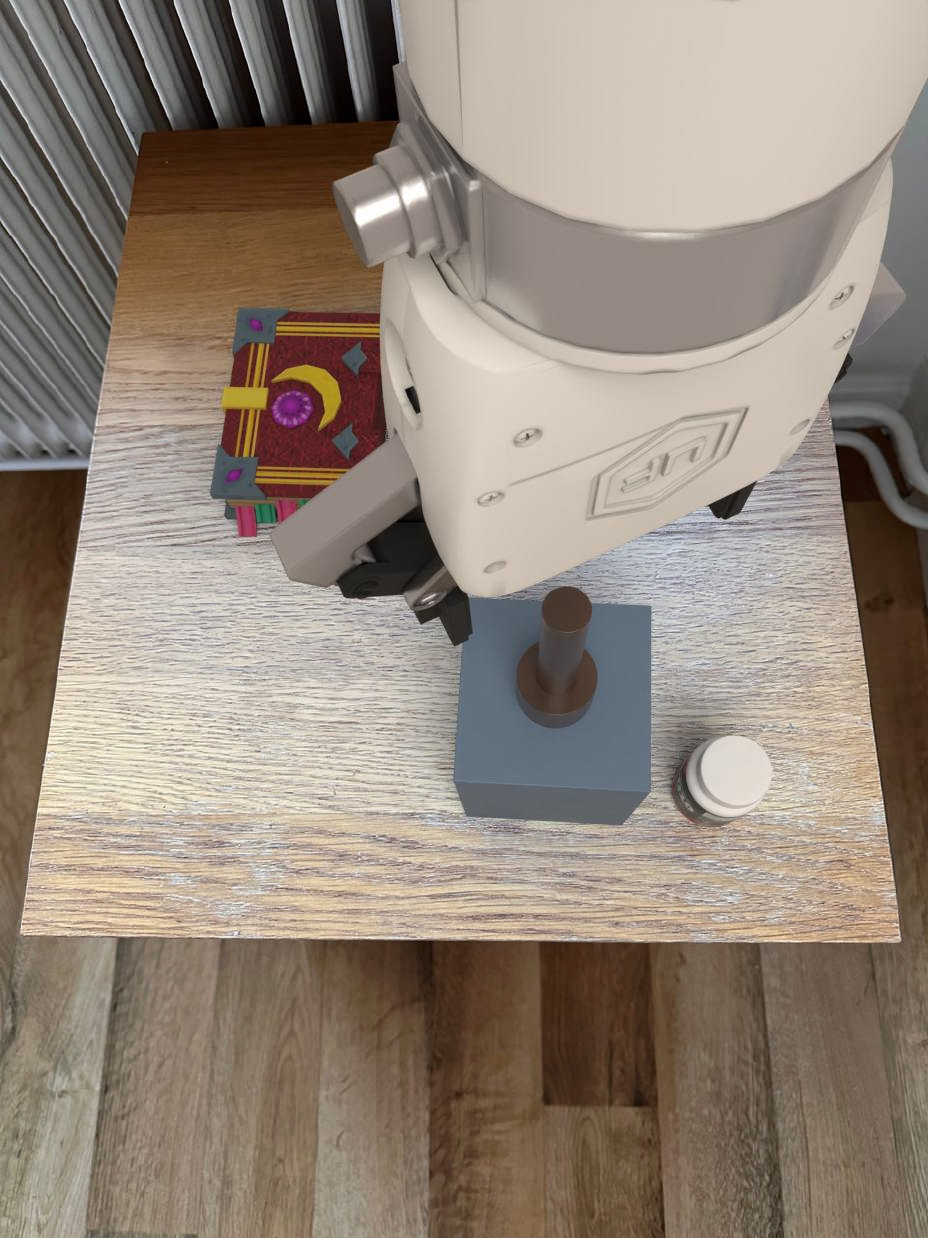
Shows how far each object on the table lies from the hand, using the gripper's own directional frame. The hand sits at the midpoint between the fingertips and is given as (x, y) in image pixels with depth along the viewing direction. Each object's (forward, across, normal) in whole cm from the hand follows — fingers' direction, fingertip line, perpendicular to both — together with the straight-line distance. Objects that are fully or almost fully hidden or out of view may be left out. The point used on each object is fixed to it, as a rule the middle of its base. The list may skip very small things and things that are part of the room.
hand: (575, 541), depth 32 cm
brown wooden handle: (+20, 0, 0) cm, 20 cm away
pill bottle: (+34, +8, -7) cm, 36 cm away
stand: (+34, 0, 0) cm, 34 cm away
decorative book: (+34, -5, +28) cm, 44 cm away
